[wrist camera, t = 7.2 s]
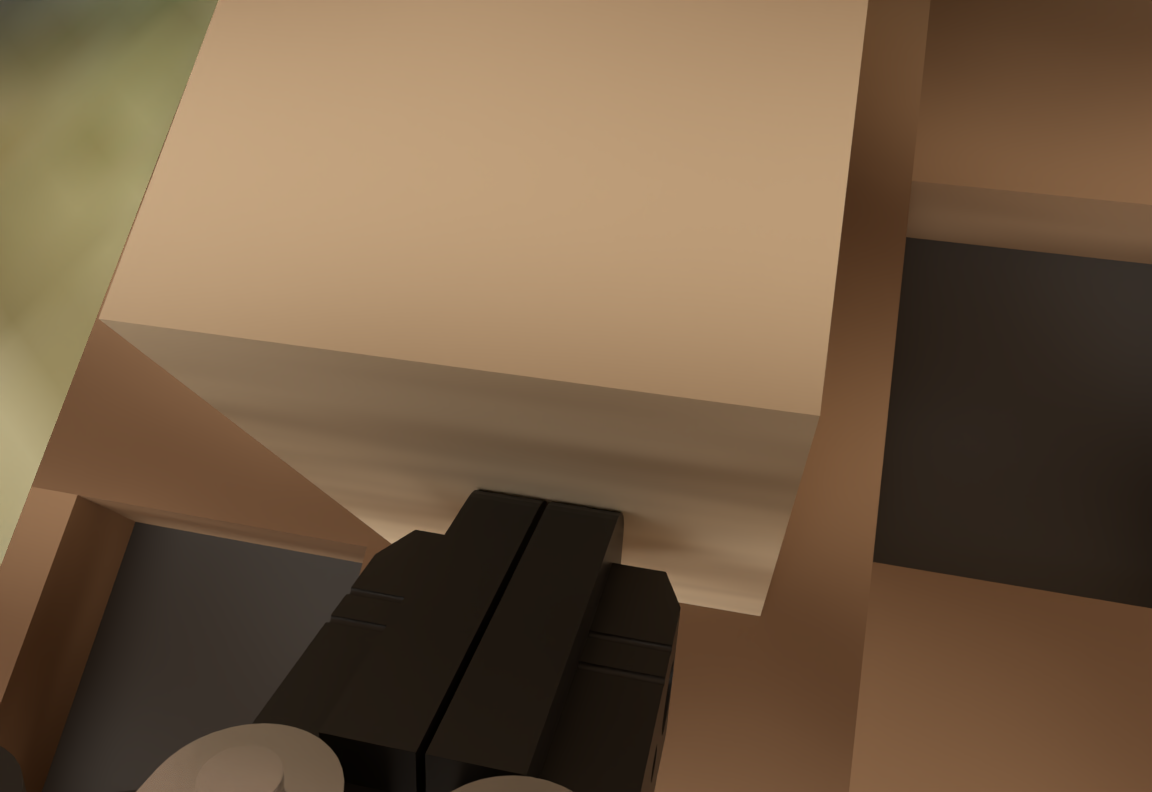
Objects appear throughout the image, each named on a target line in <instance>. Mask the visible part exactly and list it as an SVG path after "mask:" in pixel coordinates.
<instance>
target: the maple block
mask: <svg viewBox="0 0 1152 792" xmlns="http://www.w3.org/2000/svg"><path fill="white" fill-rule="evenodd" d="M867 8H868V0H218V3H217V6H216V8H215V11H214V14H213V16H212V19H211V21H210V24H209V27H208V29H207V32H206V35H205V37H204V40H203V43H202V45H201V48H200V51H199V53H198V56H197V59H196V61H195V64H194V67H193V69H192V72H191V75H190V77H189V80H188V83H187V85H186V88H185V90H184V93H183V96H182V98H181V101H180V104H179V106H178V109H177V112H176V114H175V117H174V120H173V122H172V125H171V128H170V130H169V133H168V136H167V138H166V141H165V144H164V146H163V149H162V152H161V154H160V157H159V160H158V162H157V165H156V167H155V170H154V173H153V175H152V178H151V181H150V183H149V186H148V189H147V191H146V194H145V197H144V199H143V202H142V205H141V207H140V210H139V213H138V215H137V218H136V221H135V223H134V226H133V229H132V231H131V234H130V236H129V239H128V242H127V244H126V247H125V250H124V252H123V255H122V258H121V260H120V263H119V266H118V268H117V271H116V274H115V276H114V279H113V282H112V284H111V287H110V290H109V292H108V295H107V298H106V300H105V303H104V305H103V308H102V311H101V313H100V316H99V320H101V321H102V322H103V323H105V324H106V325H107V326H109V327H110V328H111V329H113V330H114V331H115V332H116V333H118V334H119V335H120V336H122V337H123V338H124V339H126V340H127V341H128V342H129V343H131V344H132V345H133V346H135V347H136V348H137V349H139V350H140V351H141V352H142V353H144V354H145V355H146V356H148V357H149V358H150V359H152V360H153V361H154V362H155V363H157V364H158V365H159V366H161V367H162V368H163V369H165V370H166V371H167V372H168V373H170V374H171V375H172V376H174V377H175V378H176V379H178V380H179V381H180V382H182V383H183V384H184V385H185V386H187V387H188V388H189V389H191V390H192V391H193V392H195V393H196V394H197V395H198V396H200V397H201V398H202V399H204V400H205V401H206V402H208V403H209V404H210V405H211V406H213V407H214V408H215V409H217V410H218V411H219V412H221V413H222V414H223V415H224V416H226V417H227V418H228V419H230V420H231V421H232V422H234V423H235V424H236V425H237V426H239V427H240V428H241V429H243V430H244V431H245V432H247V433H248V434H249V435H250V436H252V437H253V438H254V439H256V440H257V441H258V442H260V443H261V444H262V445H264V446H265V447H266V448H267V449H269V450H270V451H271V452H273V453H274V454H275V455H277V456H278V457H279V458H280V459H282V460H283V461H284V462H286V463H287V464H288V465H290V466H291V467H292V468H293V469H295V470H296V471H297V472H299V473H300V474H301V475H303V476H304V477H305V478H306V479H308V480H309V481H310V482H312V483H313V484H314V485H316V486H317V487H318V488H319V489H321V490H322V491H323V492H325V493H326V494H327V495H329V496H330V497H331V498H333V499H334V500H335V501H336V502H338V503H339V504H340V505H342V506H343V507H344V508H346V509H347V510H348V511H349V512H351V513H352V514H353V515H355V516H356V517H357V518H359V519H360V520H361V521H362V522H364V523H365V524H366V525H368V526H369V527H370V528H372V529H373V530H374V531H375V532H377V533H378V534H379V535H381V536H382V537H383V538H385V539H386V540H387V541H388V542H390V543H391V544H393V543H394V542H396V541H398V540H399V539H401V538H402V537H404V536H406V535H407V534H409V533H411V532H412V531H414V530H420V531H426V532H432V533H438V534H444V535H445V533H446V531H447V530H448V528H449V527H450V525H451V524H452V522H453V520H454V519H455V517H456V516H457V514H458V513H459V511H460V509H461V508H462V506H463V505H464V503H465V502H466V500H467V498H468V497H469V495H470V494H471V493H472V492H473V491H474V490H481V491H487V492H493V493H500V494H506V495H512V496H518V497H525V498H531V499H537V500H543V501H546V502H547V503H548V504H549V503H550V502H557V503H564V504H570V505H576V506H582V507H589V508H595V509H601V510H607V511H614V512H620V513H623V517H624V533H623V546H622V558H621V564H623V565H629V566H635V567H641V568H646V569H652V570H658V571H664V572H666V573H667V575H668V578H669V580H670V583H671V585H672V588H673V590H674V592H675V595H676V597H677V600H678V602H680V603H685V604H691V605H697V606H703V607H709V608H715V609H721V610H727V611H732V612H738V613H744V614H750V615H756V616H761V612H762V609H763V606H764V602H765V599H766V596H767V592H768V589H769V585H770V582H771V579H772V575H773V572H774V569H775V565H776V562H777V559H778V555H779V552H780V548H781V545H782V542H783V538H784V535H785V532H786V528H787V525H788V522H789V518H790V515H791V512H792V508H793V505H794V501H795V498H796V495H797V491H798V488H799V485H800V481H801V478H802V475H803V471H804V468H805V465H806V461H807V458H808V454H809V451H810V448H811V444H812V441H813V438H814V434H815V431H816V428H817V424H818V421H819V417H820V411H821V403H822V394H823V386H824V377H825V368H826V360H827V351H828V343H829V334H830V325H831V317H832V308H833V300H834V291H835V283H836V274H837V265H838V257H839V248H840V240H841V231H842V222H843V214H844V205H845V197H846V188H847V179H848V171H849V162H850V154H851V145H852V136H853V128H854V119H855V111H856V102H857V94H858V85H859V76H860V68H861V59H862V51H863V42H864V33H865V25H866V16H867Z"/></svg>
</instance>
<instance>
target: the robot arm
mask: <svg viewBox="0 0 1152 792" xmlns="http://www.w3.org/2000/svg"><path fill="white" fill-rule="evenodd" d="M623 533H624V517H623V513H620V512H614V511H607V510H601V509H595V508H589V507H582V506H576V505H570V504H564V503H557V502H550V503H549V504H548V503H547V502H546V501H543V500H537V499H531V498H525V497H518V496H512V495H506V494H500V493H493V492H487V491H481V490H474V491H473V492H472V493H471V494H470V495H469V497H468V498H467V500H466V502H465V503H464V505H463V506H462V508H461V509H460V511H459V513H458V514H457V516H456V517H455V519H454V520H453V522H452V524H451V525H450V527H449V528H448V530H447V531H446V533H445V535H444V534H438V533H432V532H426V531H420V530H414V531H412V532H411V533H409V534H407V535H406V536H404V537H402V538H401V539H399V540H398V541H396V542H394V543H393V544H391V545H389V546H388V547H386V548H385V549H383V550H381V551H380V552H378V553H376V554H375V555H374V556H373V558H372V559H371V561H370V562H369V563H368V565H367V566H366V567H365V569H364V570H363V572H362V573H361V574H360V576H359V577H358V578H357V580H356V581H355V583H354V584H353V585H352V587H351V592H350V594H346V595H345V596H344V598H343V599H342V600H341V602H340V603H339V605H338V606H337V607H336V609H335V610H334V611H333V613H332V614H331V619H330V622H325V624H324V625H323V627H322V628H321V629H320V631H319V632H318V633H317V635H316V636H315V638H314V639H313V640H312V642H311V643H310V644H309V646H308V647H307V649H306V650H305V651H304V653H303V654H302V655H301V657H300V658H299V660H298V661H297V662H296V664H295V665H294V666H293V668H292V669H291V671H290V672H289V673H288V675H287V676H286V677H285V679H284V680H283V682H282V683H281V684H280V686H279V687H278V688H277V690H276V691H275V693H274V694H273V695H272V697H271V698H270V699H269V701H268V702H267V704H266V705H265V706H264V708H263V709H262V710H261V712H260V713H259V715H258V716H257V717H256V719H255V720H254V721H253V723H252V724H246V725H241V726H235V727H230V728H226V729H223V730H220V731H216V732H213V733H211V734H208V735H206V736H204V737H201V738H199V739H197V740H195V741H193V742H191V743H190V744H188V745H186V746H184V747H183V748H181V749H180V750H178V751H177V752H176V753H174V754H173V755H172V756H170V757H169V758H168V759H167V760H166V761H165V762H164V763H162V764H161V765H160V766H159V767H158V768H157V769H156V770H155V771H154V773H153V774H152V775H151V776H150V777H149V778H148V779H147V780H146V781H145V782H144V783H143V785H142V786H141V787H140V788H139V789H138V790H130V791H121V792H654V791H655V786H656V780H657V774H658V771H659V766H660V761H661V756H662V751H663V746H664V741H665V736H666V731H667V722H668V714H669V705H670V696H671V688H672V679H673V670H674V662H675V653H676V644H677V636H678V627H679V618H680V609H681V607H680V605H679V602H678V600H677V597H676V595H675V592H674V590H673V588H672V585H671V583H670V580H669V578H668V575H667V573H666V572H664V571H658V570H652V569H646V568H641V567H635V566H629V565H623V564H621V558H622V546H623ZM0 792H26V788H25V784H24V779H23V775H22V771H21V767H20V765H19V763H18V762H17V760H16V759H15V757H14V756H13V755H12V754H11V753H10V752H9V751H7V750H6V749H5V748H3V747H1V746H0Z"/></svg>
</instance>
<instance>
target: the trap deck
mask: <svg viewBox="0 0 1152 792" xmlns="http://www.w3.org/2000/svg"><path fill="white" fill-rule="evenodd" d="M190 75H191V74H190ZM187 83H188V82H187ZM185 88H186V87H185ZM182 96H183V95H182ZM180 101H181V100H180ZM179 104H180V103H179ZM178 106H179V105H178ZM177 109H178V108H177ZM176 112H177V111H176ZM175 114H176V113H175ZM174 117H175V116H174ZM173 120H174V118H173ZM172 122H173V121H172ZM171 125H172V124H171ZM170 128H171V126H170ZM169 130H170V129H169ZM168 133H169V131H168ZM167 136H168V134H167ZM166 138H167V137H166ZM165 141H166V139H165ZM164 144H165V142H164ZM164 144H163V146H164ZM162 149H163V147H162ZM161 152H162V150H161ZM161 152H160V154H161ZM159 157H160V155H159ZM159 157H158V160H159ZM158 160H157V162H158ZM156 165H157V163H156ZM156 165H155V167H156ZM154 170H155V168H154ZM154 170H153V173H154ZM153 173H152V175H153ZM152 175H151V178H152ZM151 178H150V181H151ZM150 181H149V183H150ZM149 183H148V186H149ZM148 186H147V188H146V191H147V189H148ZM146 191H145V194H146ZM145 194H144V196H143V199H144V197H145ZM143 199H142V201H141V204H140V207H141V205H142V202H143ZM140 207H139V209H138V212H137V214H136V217H135V220H134V222H133V225H132V227H131V230H130V232H129V235H128V238H127V240H126V243H125V245H124V248H123V251H122V253H121V256H120V258H119V261H118V264H117V266H116V269H115V271H114V274H113V277H112V279H111V282H110V284H109V287H108V289H107V292H106V295H105V297H104V300H103V302H102V305H101V308H100V310H99V313H98V315H97V318H96V321H95V323H94V326H93V328H92V331H91V334H90V336H89V339H88V341H87V344H86V346H85V349H84V352H83V354H82V357H81V359H80V362H79V365H78V367H77V370H76V372H75V375H74V378H73V380H72V383H71V385H70V388H69V391H68V393H67V396H66V398H65V401H64V403H63V406H62V409H61V411H60V414H59V416H58V419H57V422H56V424H55V427H54V429H53V432H52V435H51V437H50V440H49V442H48V445H47V448H46V450H45V453H44V455H43V458H42V460H41V463H40V466H39V468H38V471H37V473H36V476H35V479H34V481H33V484H32V486H31V489H30V492H29V494H28V497H27V499H26V502H25V505H24V507H23V510H22V512H21V515H20V518H19V520H18V523H17V525H16V528H15V530H14V533H13V536H12V538H11V541H10V543H9V546H8V549H7V551H6V554H5V556H4V559H3V562H2V564H1V567H0V746H1V747H3V748H5V749H6V750H7V751H9V752H10V753H11V754H12V755H13V756H14V757H15V759H16V760H17V762H18V763H19V765H20V767H21V771H22V775H23V779H24V784H25V788H26V792H121V791H130V790H138V789H139V788H140V787H141V786H142V785H143V783H144V782H145V781H146V780H147V779H148V778H149V777H150V776H151V775H152V774H153V773H154V771H155V770H156V769H157V768H158V767H159V766H160V765H161V764H162V763H164V762H165V761H166V760H167V759H168V758H169V757H170V756H172V755H173V754H174V753H176V752H177V751H178V750H180V749H181V748H183V747H184V746H186V745H188V744H190V743H191V742H193V741H195V740H197V739H199V738H201V737H204V736H206V735H208V734H211V733H213V732H216V731H220V730H223V729H226V728H230V727H235V726H241V725H246V724H252V723H253V721H254V720H255V719H256V717H257V716H258V715H259V713H260V712H261V710H262V709H263V708H264V706H265V705H266V704H267V702H268V701H269V699H270V698H271V697H272V695H273V694H274V693H275V691H276V690H277V688H278V687H279V686H280V684H281V683H282V682H283V680H284V679H285V677H286V676H287V675H288V673H289V672H290V671H291V669H292V668H293V666H294V665H295V664H296V662H297V661H298V660H299V658H300V657H301V655H302V654H303V653H304V651H305V650H306V649H307V647H308V646H309V644H310V643H311V642H312V640H313V639H314V638H315V636H316V635H317V633H318V632H319V631H320V629H321V628H322V627H323V625H324V624H325V622H330V619H331V614H332V613H333V611H334V610H335V609H336V607H337V606H338V605H339V603H340V602H341V600H342V599H343V598H344V596H345V595H346V594H350V592H351V587H352V585H353V584H354V583H355V581H356V580H357V578H358V577H359V576H360V574H361V573H362V572H363V570H364V569H365V567H366V566H367V565H368V563H369V562H370V561H371V559H372V558H373V556H374V555H375V554H376V553H378V552H380V551H381V550H383V549H385V548H386V547H388V546H389V545H391V543H390V542H388V541H387V540H386V539H385V538H383V537H382V536H381V535H379V534H378V533H377V532H375V531H374V530H373V529H372V528H370V527H369V526H368V525H366V524H365V523H364V522H362V521H361V520H360V519H359V518H357V517H356V516H355V515H353V514H352V513H351V512H349V511H348V510H347V509H346V508H344V507H343V506H342V505H340V504H339V503H338V502H336V501H335V500H334V499H333V498H331V497H330V496H329V495H327V494H326V493H325V492H323V491H322V490H321V489H319V488H318V487H317V486H316V485H314V484H313V483H312V482H310V481H309V480H308V479H306V478H305V477H304V476H303V475H301V474H300V473H299V472H297V471H296V470H295V469H293V468H292V467H291V466H290V465H288V464H287V463H286V462H284V461H283V460H282V459H280V458H279V457H278V456H277V455H275V454H274V453H273V452H271V451H270V450H269V449H267V448H266V447H265V446H264V445H262V444H261V443H260V442H258V441H257V440H256V439H254V438H253V437H252V436H250V435H249V434H248V433H247V432H245V431H244V430H243V429H241V428H240V427H239V426H237V425H236V424H235V423H234V422H232V421H231V420H230V419H228V418H227V417H226V416H224V415H223V414H222V413H221V412H219V411H218V410H217V409H215V408H214V407H213V406H211V405H210V404H209V403H208V402H206V401H205V400H204V399H202V398H201V397H200V396H198V395H197V394H196V393H195V392H193V391H192V390H191V389H189V388H188V387H187V386H185V385H184V384H183V383H182V382H180V381H179V380H178V379H176V378H175V377H174V376H172V375H171V374H170V373H168V372H167V371H166V370H165V369H163V368H162V367H161V366H159V365H158V364H157V363H155V362H154V361H153V360H152V359H150V358H149V357H148V356H146V355H145V354H144V353H142V352H141V351H140V350H139V349H137V348H136V347H135V346H133V345H132V344H131V343H129V342H128V341H127V340H126V339H124V338H123V337H122V336H120V335H119V334H118V333H116V332H115V331H114V330H113V329H111V328H110V327H109V326H107V325H106V324H105V323H103V322H102V321H101V320H99V316H100V313H101V311H102V308H103V305H104V303H105V300H106V298H107V295H108V292H109V290H110V287H111V284H112V282H113V279H114V276H115V274H116V271H117V268H118V266H119V263H120V260H121V258H122V255H123V252H124V250H125V247H126V244H127V242H128V239H129V236H130V234H131V231H132V229H133V226H134V223H135V221H136V218H137V215H138V213H139V210H140ZM679 605H680V607H681V609H680V618H679V627H678V636H677V644H676V653H675V662H674V670H673V679H672V688H671V696H670V705H669V714H668V722H667V731H666V736H665V741H664V746H663V751H662V756H661V761H660V766H659V771H658V774H657V780H656V786H655V791H654V792H1152V0H868V8H867V16H866V25H865V33H864V42H863V51H862V59H861V68H860V76H859V85H858V94H857V102H856V111H855V119H854V128H853V136H852V145H851V154H850V162H849V171H848V179H847V188H846V197H845V205H844V214H843V222H842V231H841V240H840V248H839V257H838V265H837V274H836V283H835V291H834V300H833V308H832V317H831V325H830V334H829V343H828V351H827V360H826V368H825V377H824V386H823V394H822V403H821V411H820V417H819V421H818V424H817V428H816V431H815V434H814V438H813V441H812V444H811V448H810V451H809V454H808V458H807V461H806V465H805V468H804V471H803V475H802V478H801V481H800V485H799V488H798V491H797V495H796V498H795V501H794V505H793V508H792V512H791V515H790V518H789V522H788V525H787V528H786V532H785V535H784V538H783V542H782V545H781V548H780V552H779V555H778V559H777V562H776V565H775V569H774V572H773V575H772V579H771V582H770V585H769V589H768V592H767V596H766V599H765V602H764V606H763V609H762V612H761V616H756V615H750V614H744V613H738V612H732V611H727V610H721V609H715V608H709V607H703V606H697V605H691V604H685V603H680V602H679Z"/></svg>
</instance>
